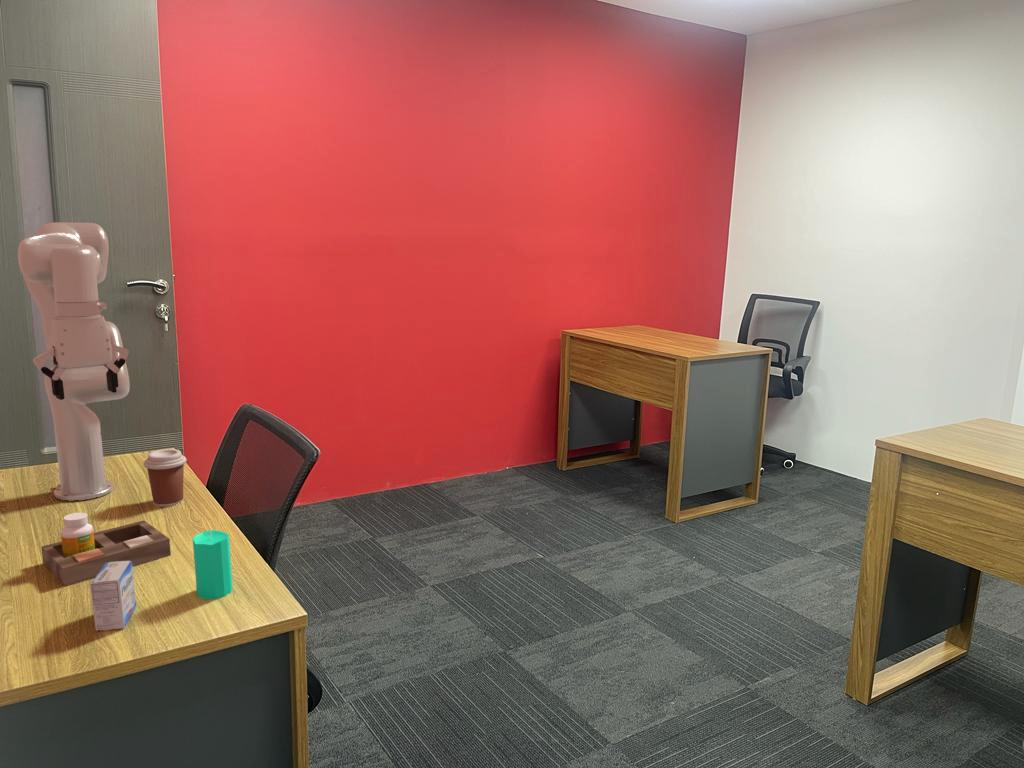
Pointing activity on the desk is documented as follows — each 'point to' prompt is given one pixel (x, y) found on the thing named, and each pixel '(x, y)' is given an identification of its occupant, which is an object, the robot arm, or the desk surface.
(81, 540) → the supplement bottle
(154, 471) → the coffee cup
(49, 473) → the desk surface
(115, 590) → the medicine box
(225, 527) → the desk surface
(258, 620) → the desk surface
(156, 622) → the desk surface
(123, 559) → the socket block
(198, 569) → the candle
